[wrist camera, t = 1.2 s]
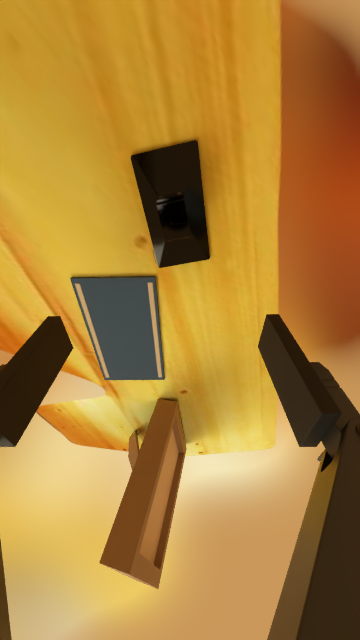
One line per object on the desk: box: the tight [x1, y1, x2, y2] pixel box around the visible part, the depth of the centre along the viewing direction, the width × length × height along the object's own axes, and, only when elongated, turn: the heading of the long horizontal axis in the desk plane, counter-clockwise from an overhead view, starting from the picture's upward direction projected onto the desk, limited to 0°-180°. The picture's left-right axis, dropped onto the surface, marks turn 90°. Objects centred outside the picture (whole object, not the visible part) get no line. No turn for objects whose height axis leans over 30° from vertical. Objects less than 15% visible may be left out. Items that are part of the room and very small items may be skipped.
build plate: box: [131, 140, 210, 268], centre depth 24 cm, size 12×7×5 cm, turn 11°
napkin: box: [70, 276, 165, 380], centre depth 37 cm, size 22×12×1 cm, turn 1°
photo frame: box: [100, 399, 186, 589], centre depth 44 cm, size 15×22×25 cm
